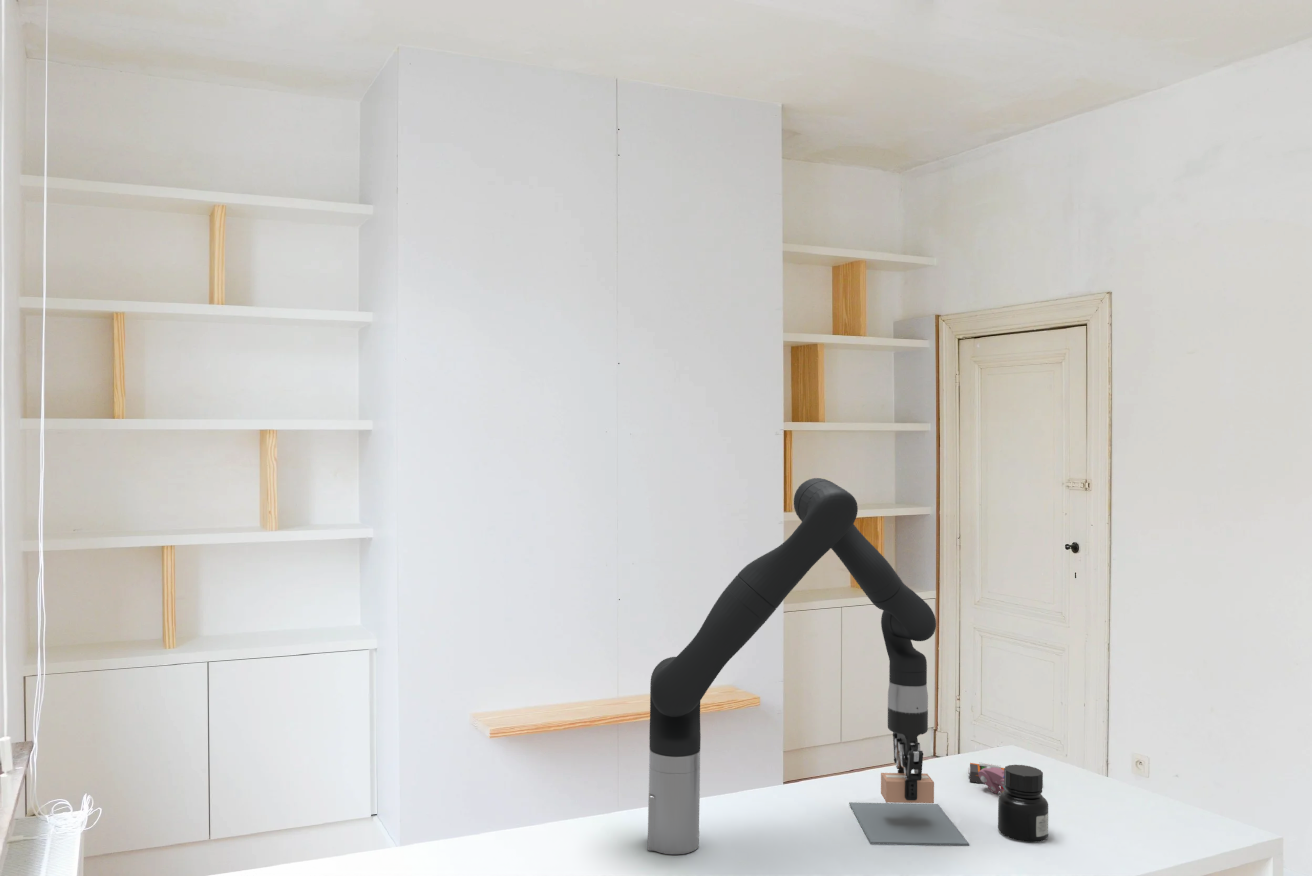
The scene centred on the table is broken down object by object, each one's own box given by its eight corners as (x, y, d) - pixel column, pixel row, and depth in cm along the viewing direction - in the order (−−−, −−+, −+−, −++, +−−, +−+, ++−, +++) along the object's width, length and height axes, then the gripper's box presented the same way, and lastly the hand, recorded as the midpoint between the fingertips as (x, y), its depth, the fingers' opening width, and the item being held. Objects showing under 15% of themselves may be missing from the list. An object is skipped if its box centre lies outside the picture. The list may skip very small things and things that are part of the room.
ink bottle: (1052, 846, 177) (1053, 780, 178) (1002, 842, 179) (1002, 776, 179) (1042, 826, 187) (1043, 764, 187) (994, 822, 189) (995, 760, 189)
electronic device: (1042, 780, 207) (968, 769, 212) (1041, 794, 207) (967, 782, 212) (1040, 771, 214) (968, 760, 218) (1039, 784, 214) (967, 773, 218)
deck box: (933, 803, 184) (934, 781, 185) (886, 802, 185) (886, 780, 185) (927, 794, 189) (927, 772, 190) (880, 793, 190) (880, 771, 190)
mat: (870, 844, 177) (870, 841, 177) (849, 804, 197) (849, 802, 197) (969, 845, 177) (969, 843, 177) (937, 805, 197) (937, 803, 197)
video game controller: (982, 795, 208) (971, 768, 207) (996, 783, 210) (986, 756, 209) (1017, 811, 199) (1006, 782, 198) (1032, 798, 201) (1021, 770, 200)
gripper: (937, 716, 180) (937, 808, 180) (917, 696, 195) (916, 782, 194) (897, 715, 180) (896, 807, 180) (879, 696, 195) (879, 781, 194)
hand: (907, 794), depth 187 cm, fingers closed on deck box, 5 cm apart
